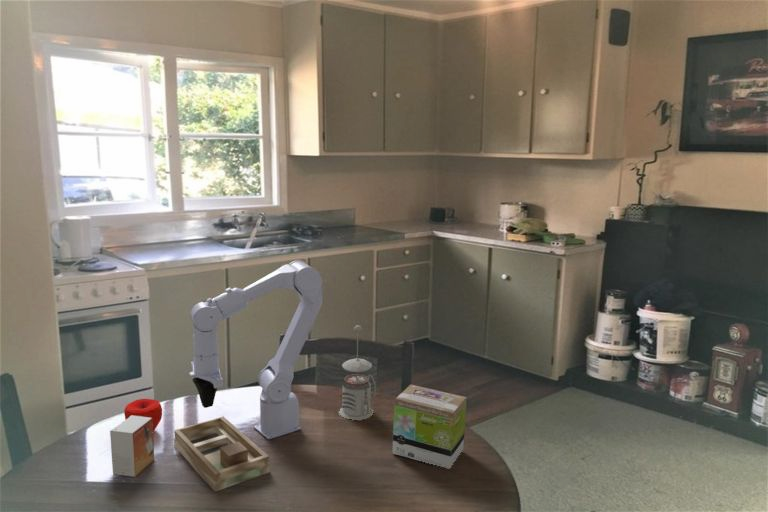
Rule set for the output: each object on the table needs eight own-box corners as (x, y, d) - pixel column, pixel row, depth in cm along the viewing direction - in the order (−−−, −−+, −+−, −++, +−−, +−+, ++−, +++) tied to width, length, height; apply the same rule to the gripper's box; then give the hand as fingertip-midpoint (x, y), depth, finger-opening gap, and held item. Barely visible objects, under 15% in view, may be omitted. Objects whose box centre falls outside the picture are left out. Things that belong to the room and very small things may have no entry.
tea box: (391, 455, 145) (392, 397, 142) (407, 437, 154) (409, 382, 151) (450, 471, 139) (453, 411, 136) (464, 451, 148) (467, 395, 145)
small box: (134, 478, 133) (132, 433, 131) (112, 474, 134) (109, 430, 132) (155, 459, 141) (153, 417, 139) (133, 456, 142) (131, 414, 140)
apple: (170, 429, 155) (169, 400, 153) (142, 444, 147) (141, 414, 146) (145, 421, 159) (144, 393, 157) (117, 435, 151) (115, 405, 150)
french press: (358, 401, 174) (360, 317, 169) (386, 415, 166) (388, 327, 161) (331, 411, 167) (332, 324, 162) (358, 426, 159) (360, 335, 154)
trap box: (224, 430, 155) (224, 416, 154) (270, 472, 137) (269, 455, 136) (174, 445, 147) (173, 430, 146) (215, 491, 129) (214, 474, 128)
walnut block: (239, 457, 139) (238, 441, 138) (248, 466, 135) (247, 449, 134) (220, 463, 136) (219, 447, 135) (229, 472, 132) (228, 455, 132)
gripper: (178, 347, 148) (180, 399, 150) (201, 365, 137) (203, 421, 139) (205, 341, 152) (207, 392, 155) (231, 359, 141) (232, 413, 144)
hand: (207, 406), depth 147 cm, fingers closed
